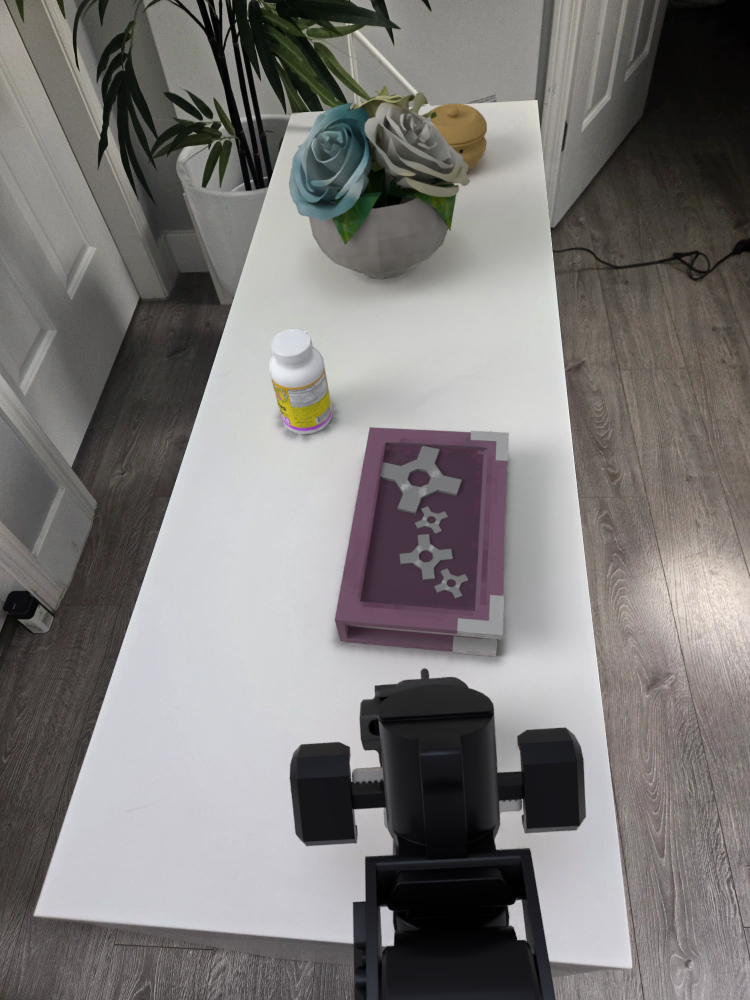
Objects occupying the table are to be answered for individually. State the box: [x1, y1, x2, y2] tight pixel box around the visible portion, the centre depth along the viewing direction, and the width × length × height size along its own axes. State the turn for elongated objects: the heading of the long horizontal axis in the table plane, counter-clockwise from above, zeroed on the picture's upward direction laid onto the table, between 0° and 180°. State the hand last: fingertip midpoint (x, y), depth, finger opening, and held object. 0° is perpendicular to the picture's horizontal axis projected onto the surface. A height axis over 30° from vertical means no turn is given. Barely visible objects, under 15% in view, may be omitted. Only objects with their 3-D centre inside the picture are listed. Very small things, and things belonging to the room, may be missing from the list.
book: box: [334, 426, 510, 658], centre depth 77 cm, size 25×16×5 cm, turn 172°
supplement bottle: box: [268, 328, 334, 435], centre depth 87 cm, size 7×7×13 cm
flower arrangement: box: [288, 85, 471, 280], centre depth 100 cm, size 25×25×24 cm
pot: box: [428, 103, 488, 171], centre depth 121 cm, size 12×12×10 cm
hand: (430, 728), depth 55 cm, fingers closed
